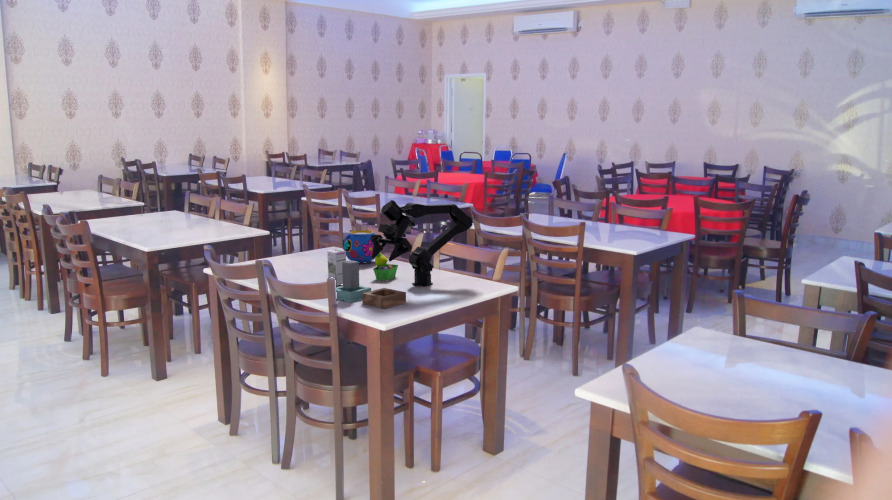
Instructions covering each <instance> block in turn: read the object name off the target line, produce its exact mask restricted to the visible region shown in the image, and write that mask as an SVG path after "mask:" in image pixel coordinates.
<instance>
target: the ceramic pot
mask: <svg viewBox="0 0 892 500" xmlns="http://www.w3.org/2000/svg"><path fill="white" fill-rule="evenodd" d="M372 234H376V233H375V232H374V231H372V230H363V229H362V230H351V231H349V232H348V233H347V234H346V236H345V237H344V238H342V241H341V245H342V250H344V251H346V259H348V261H350V260H352V261H357V262H360V263H359V264H365V263H364V262H367V263H370V262H372V261H373V260H374V261H375V258H374V259H373V258H372V252H373V246H374V245H373V242H372V241H371V239H370V237H371V236H372Z"/></svg>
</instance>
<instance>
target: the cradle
mask: <svg viewBox="0 0 892 500" xmlns="http://www.w3.org/2000/svg"><path fill="white" fill-rule="evenodd" d="M335 288H336V292H337V299H339V300H338V301H341V300H344V301H343V302H346V301H347V302H346V303H350V302H351V303H354V301H355V302H358V301H363V297H362V293H366V292H370V291H372V287H370V286H369V287H368V286H363V285H360V284H359V290H356V291H352V292H349V291H344V290H343V285H341V286H336V287H335ZM337 299H336V300H337Z"/></svg>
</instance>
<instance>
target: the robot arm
mask: <svg viewBox="0 0 892 500" xmlns="http://www.w3.org/2000/svg"><path fill="white" fill-rule="evenodd" d="M380 213H381V214H382V215H383V216H385V217H386V218H387V219H388V220H389V221H390V222H394V223H391V224H386V223H379V226H378V230H377V233H378V232H379V233H381V234H382V235H383V236H382V235H381V234H379V233H378V234H377V233H375V234H372V236H371V237H370V239H371V241H372V242H373V245H374V246H373V252H372V258H373V259H374V258H375V257H376V256H377V255H378V254H379V253H381V252H382V251H383V250H385V249H384V247H385V246H386V245H391V246H394V247H393V249H392V252H391V254H390V255H389V256H388V257H389V258H387V260H388V262H389V263H390V262H392V261H394V260H395V259H396V258H399V257H400V256H402V255H404V254H407V253H408V252H409V253H410V254H409V256H408V262H409V264H410V265H411V267H412V269H413V272H414V275H413V276H414V282H412V283H411V284H412V286H418V287H426V286H431V285H433V284H434V283H433V282H432V274H431V272H433V268H434V266H433V264H432V263H430V262H431V261H432V258H433V256H434V255H435V254H436V253H437V252H438V251H439V250H441V249H442V248H443V247H444V246H445V245H446V244H447V243H449V242H450V241H451V240H452V239H453V238H455V237H456V236H457V235H459V234H462V233H465V232H466V231H468V230H470V229H471V228H473V219H472V217H471V216H469V215H467V214H466V213H465V212H464V211H463V210H462V209H461V208H460V207H459V206H458V205H457V204H455V203H441V204H440V203H439V204H435V203H434V204H421V203H414V202H407V203H406V204H405V205H403V206H399V205H398V204H397V202H396V201H395V200H392V199H391V200H389V202H386V203H385V204H384V205H383V206H382V207H381V209H380ZM439 214H440V215H441V214H443V215H444V214H448V216H449V218H450V219H451V221H450V224H449V225H448V227H447V228H446V229H445V230H443V231H442V232H441V233H440V234H438V236H436V237H435V238H434V239H432V240H431V241H430V242H429V243H428V244H426V246H424V247H421V246H416V248H415V249H414V250H413V251H411V250H412V249H413V245H412V243H411V242H410V240H409V239H408V238H407V235H406V232H407V230H408V229H409V227H416V223H415V220H414V219H419V218H422V217H424V216H426V215H439ZM411 218H414V219H411ZM384 237H385V238H384ZM374 260H375V259H374Z"/></svg>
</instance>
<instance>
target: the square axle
mask: <svg viewBox="0 0 892 500" xmlns="http://www.w3.org/2000/svg"><path fill="white" fill-rule="evenodd" d="M342 274H343V285H342V286H343V290H344V291H349V292H352V291H356V290H359V285H360V263H359V262H357V261H352V260H346V261H345V262H342Z"/></svg>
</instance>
